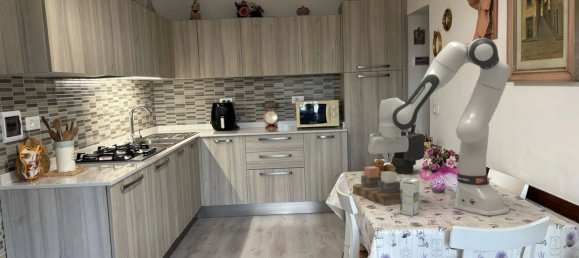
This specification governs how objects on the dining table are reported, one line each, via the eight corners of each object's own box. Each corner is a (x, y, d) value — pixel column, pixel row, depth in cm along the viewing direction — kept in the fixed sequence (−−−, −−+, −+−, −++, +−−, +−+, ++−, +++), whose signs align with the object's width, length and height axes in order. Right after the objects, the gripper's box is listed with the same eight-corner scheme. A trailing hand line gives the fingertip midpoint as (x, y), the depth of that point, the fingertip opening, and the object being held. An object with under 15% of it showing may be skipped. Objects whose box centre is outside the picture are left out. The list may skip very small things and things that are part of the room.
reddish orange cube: (378, 177, 214) (378, 167, 213) (370, 178, 212) (370, 168, 211) (372, 176, 218) (372, 166, 218) (364, 177, 216) (364, 167, 216)
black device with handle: (400, 169, 277) (400, 122, 274) (425, 173, 263) (425, 123, 260) (385, 172, 267) (385, 123, 264) (410, 176, 254) (410, 125, 251)
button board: (409, 201, 200) (409, 182, 199) (384, 205, 195) (383, 185, 194) (376, 189, 224) (376, 172, 223) (352, 193, 218) (352, 175, 217)
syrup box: (405, 210, 186) (405, 177, 184) (419, 213, 182) (419, 178, 181) (399, 214, 181) (399, 179, 180) (413, 216, 178) (413, 181, 176)
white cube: (396, 183, 201) (396, 172, 200) (387, 184, 199) (387, 173, 198) (390, 181, 205) (390, 170, 205) (381, 182, 203) (381, 171, 203)
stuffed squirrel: (366, 181, 244) (366, 158, 243) (387, 179, 250) (387, 156, 248) (376, 185, 235) (376, 160, 234) (398, 182, 240) (398, 158, 239)
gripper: (373, 134, 193) (373, 165, 194) (410, 132, 201) (410, 161, 202) (365, 133, 199) (365, 163, 200) (402, 130, 207) (401, 159, 208)
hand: (388, 162), depth 201 cm, fingers closed
